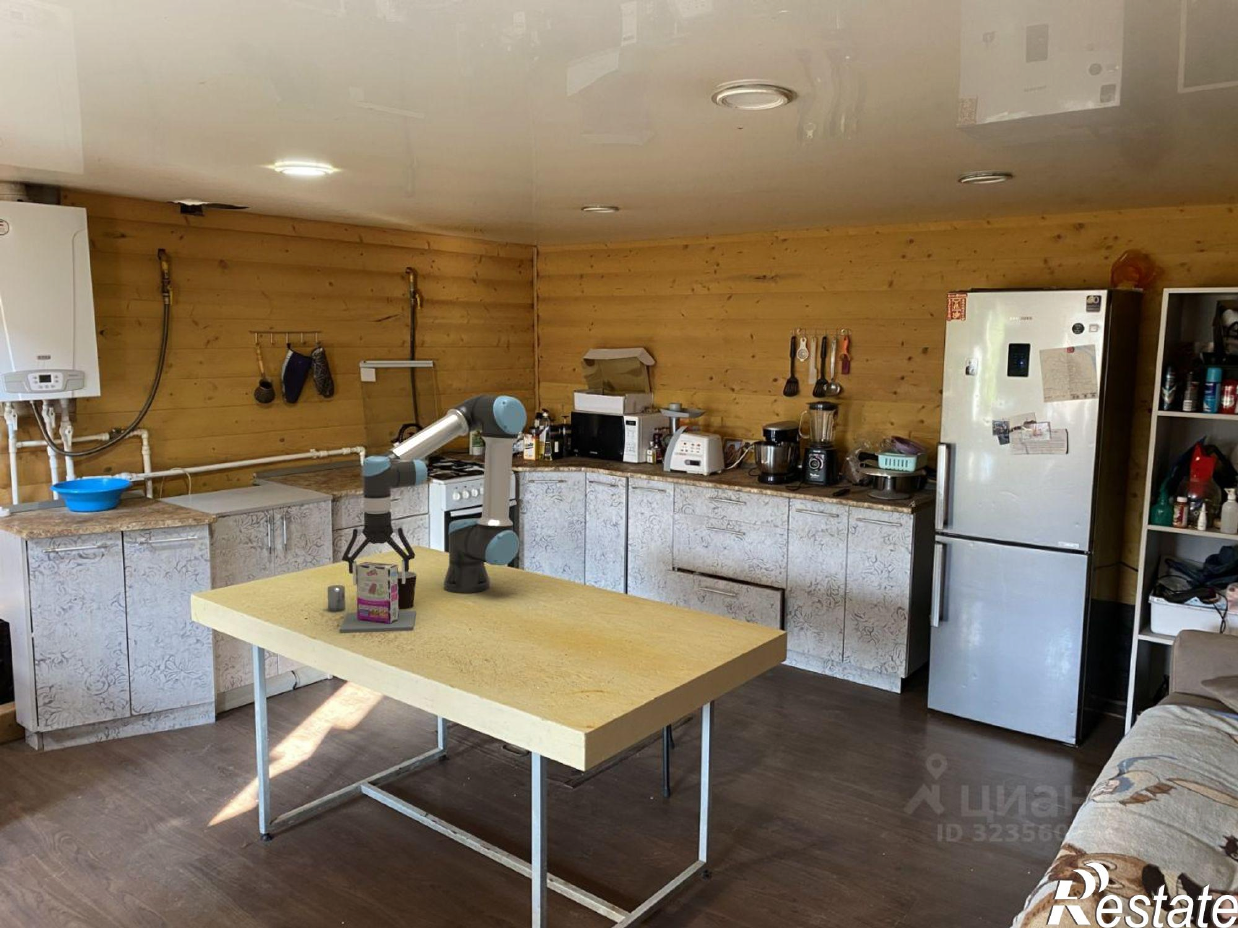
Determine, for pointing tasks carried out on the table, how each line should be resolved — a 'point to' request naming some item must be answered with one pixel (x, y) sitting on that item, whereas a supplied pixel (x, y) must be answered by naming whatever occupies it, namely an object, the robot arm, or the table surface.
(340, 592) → the metal canister
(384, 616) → the candy bar box
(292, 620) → the table surface
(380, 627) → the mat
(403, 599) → the coffee mug
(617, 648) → the table surface
